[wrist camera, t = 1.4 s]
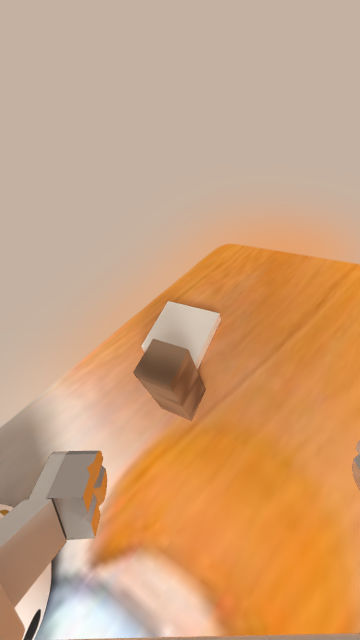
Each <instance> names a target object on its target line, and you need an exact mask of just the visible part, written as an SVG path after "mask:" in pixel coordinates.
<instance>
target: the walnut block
mask: <svg viewBox="0 0 360 640" xmlns="http://www.w3.org/2000/svg"><path fill="white" fill-rule="evenodd" d="M133 373H134V374H135V376H136V377H137V378H138V379H139V381H140V382H141V383H142V384H143V386H144V387H145V388H146V389H147V391H148V392H149V393H150V394H151V395H152V397H153V398H154V399H155V400H156V402H157V403H158V404H159V405H160V407H161V408H162V409H165V410H167V411H169V412H172V413H174V414H177V415H179V416H181V417H184V418H186V419H188V420H191V421H192V419H193V417H194V415H195V412H196V410H197V408H198V406H199V403H200V401H201V399H202V397H203V394H204V392H205V387H204V385H203V383H202V380H201V378H200V376H199V373H198V371H197V369H196V366H195V364H194V362H193V359H192V357H191V355H190V352H189V350H188V349H186V348H182V347H179V346H176V345H173V344H169V343H166V342H163V341H160V340H156V339H152V341H151V343H150V345H149V346H148V348H147V350H146V351H145V353H144V355H143V357H142V358H141V360H140V362H139V364H138V365H137V367H136V369H135V370H134V372H133Z"/></svg>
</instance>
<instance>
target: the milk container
mask: <svg viewBox="0 0 360 640" xmlns="http://www.w3.org/2000/svg"><path fill="white" fill-rule="evenodd" d="M13 508H14V507H12V506H9V505H5V504H0V519H2V518H3V517H4V516H5V515H6V514H7V513H9V512H10V511H11V510H12V509H13ZM51 569H52V564H51V562H50V563H49V565H48V566H47V567H46V569H45V570H44V571H43V572H42V574H41V575H40V576H39V577H38V579H37V580H36V581H35V583H34V584H33V585H32V586H31V588H30V589H29V590H28V591H27V593H26V594H25V595H24V597H23V598H22V599H21V600H20V602H19V603H18V604H17V606H16V607H15V610H16V612H17V614H18V615H19V617H20V619H21V621H22V622H23V624H24V627H25V633H24V636H23V639H22V640H34V638H35V636H36V634H37V632H38V630H39V628H40V625H41V623H42V620H43V617H44V614H45V610H46V606H47V602H48V598H49V594H50V589H51Z"/></svg>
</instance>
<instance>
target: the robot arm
mask: <svg viewBox="0 0 360 640" xmlns="http://www.w3.org/2000/svg"><path fill="white" fill-rule="evenodd" d="M356 450H357V451H358V453H359V455H358V456H357V457H355V458H354V459H353V464H352V471H353V477H354V479H355V482H356V484H357V486H358V488H359V490H360V441H359V442H358V443H357V447H356ZM102 461H103V456H102V453H101V451H60V452H53V453H52V454H51V455H50V456H49V458H48V460H47V462H46V464H45V466H44V468H43V470H42V472H41V474H40V476H39V478H38V480H37V482H36V484H35V486H34V488H33V490H32V492H31V494H30V497H29V499H28V500H23V501H21V502H20V503H19V504H18V505H17V506H16V507H14V508H13V509H12V510H11V511H10V512H9V513H7V514H6V515H5V516H4V517H3V518H2V519H0V640H22V639H23V636H24V633H25V627H24V624H23V622H22V621H21V619H20V617H19V615H18V614H17V612H16V610H15V607H16V606H17V604H18V603H19V602H20V600H21V599H22V598H23V597H24V595H25V594H26V593H27V591H28V590H29V589H30V588H31V586H32V585H33V584H34V583H35V581H36V580H37V579H38V577H39V576H40V575H41V574H42V572H43V571H44V570H45V569H46V567H47V566H48V565H49V563H50V562H51V561H52V560H53V558H54V557H55V556H56V554H57V553H58V552H59V551H60V549H61V548H62V547H63V546H64V544H65V543H66V540H73V539H89V538H95V536H96V532H97V528H98V524H99V520H100V516H101V515H100V511H99V506H100V505H101V504H102V503H103V501H104V499H105V495H106V488H107V474H106V469H105V468H104V467H103V466H102ZM69 640H360V633H340V634H294V635H248V636H202V637H158V638H113V639H69Z"/></svg>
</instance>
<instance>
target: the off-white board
mask: <svg viewBox="0 0 360 640" xmlns="http://www.w3.org/2000/svg"><path fill="white" fill-rule="evenodd" d="M220 321H221V318H220V314H219V313H216V312H212V311H208V310H204V309H199V308H195V307H191V306H187V305H183V304H178V303H174V302H170V301H168V302H167V304H166V305H165V307H164V309H163V310H162V312H161V314H160V315H159V317H158V319H157V321H156V322H155V324H154V326H153V327H152V329H151V331H150V332H149V334H148V336H147V337H146V339H145V341H144V342H143V344H142V346H141V347H142V349H143V350H144V352H145V351H146V350H147V348H148V346H149V345H150V343H151V341H152V339H156V340H160V341H163V342H166V343H169V344H173V345H176V346H179V347H182V348H186V349H188V350H189V352H190V355H191V357H192V359H193V362H194V364H195V366H196V369H197V370H198V368H199V366H200V363H201V361H202V359H203V357H204V355H205V353H206V351H207V349H208V347H209V345H210V342H211V340H212V338H213V336H214V334H215V332H216V330H217V328H218V326H219V323H220Z"/></svg>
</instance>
